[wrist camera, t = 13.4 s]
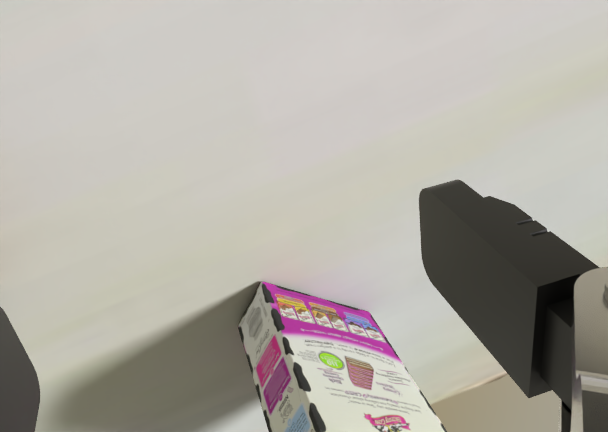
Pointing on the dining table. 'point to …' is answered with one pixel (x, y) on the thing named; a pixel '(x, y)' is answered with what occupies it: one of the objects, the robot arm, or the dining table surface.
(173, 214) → the dining table surface
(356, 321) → the candy bar box
